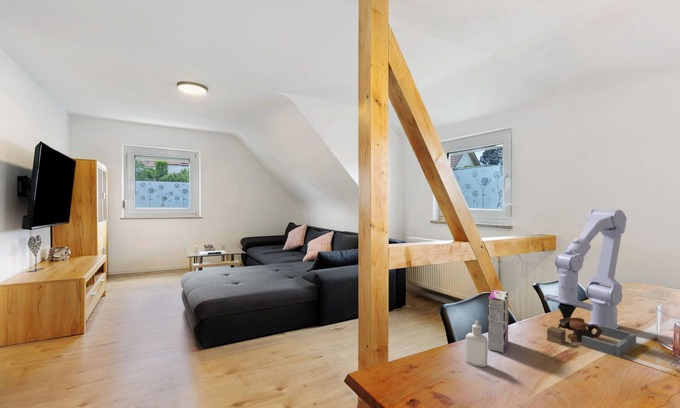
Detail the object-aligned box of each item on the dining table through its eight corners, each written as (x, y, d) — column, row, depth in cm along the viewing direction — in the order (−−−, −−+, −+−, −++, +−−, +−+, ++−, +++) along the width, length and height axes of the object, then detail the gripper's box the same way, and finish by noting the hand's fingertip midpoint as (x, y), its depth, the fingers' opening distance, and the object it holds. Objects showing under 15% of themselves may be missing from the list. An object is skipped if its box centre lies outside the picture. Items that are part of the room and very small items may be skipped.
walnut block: (552, 337, 112) (552, 326, 112) (565, 342, 109) (565, 330, 108) (547, 340, 109) (547, 328, 109) (560, 344, 106) (560, 332, 106)
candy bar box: (491, 337, 111) (492, 289, 111) (508, 341, 108) (509, 291, 108) (486, 349, 101) (487, 297, 101) (504, 354, 99) (505, 299, 99)
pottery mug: (560, 342, 109) (554, 317, 113) (564, 347, 115) (558, 322, 119) (605, 342, 102) (597, 315, 106) (606, 347, 109) (599, 321, 113)
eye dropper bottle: (479, 369, 89) (480, 325, 89) (462, 360, 94) (463, 319, 94) (489, 366, 91) (490, 323, 91) (473, 357, 96) (474, 316, 96)
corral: (601, 333, 116) (601, 325, 116) (636, 343, 108) (636, 333, 108) (581, 345, 106) (581, 336, 106) (618, 357, 98) (618, 347, 98)
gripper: (541, 284, 121) (540, 321, 121) (587, 294, 109) (586, 334, 109) (549, 281, 125) (549, 317, 125) (595, 290, 113) (594, 329, 113)
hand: (567, 325), depth 117 cm, fingers closed, pressing on pottery mug
